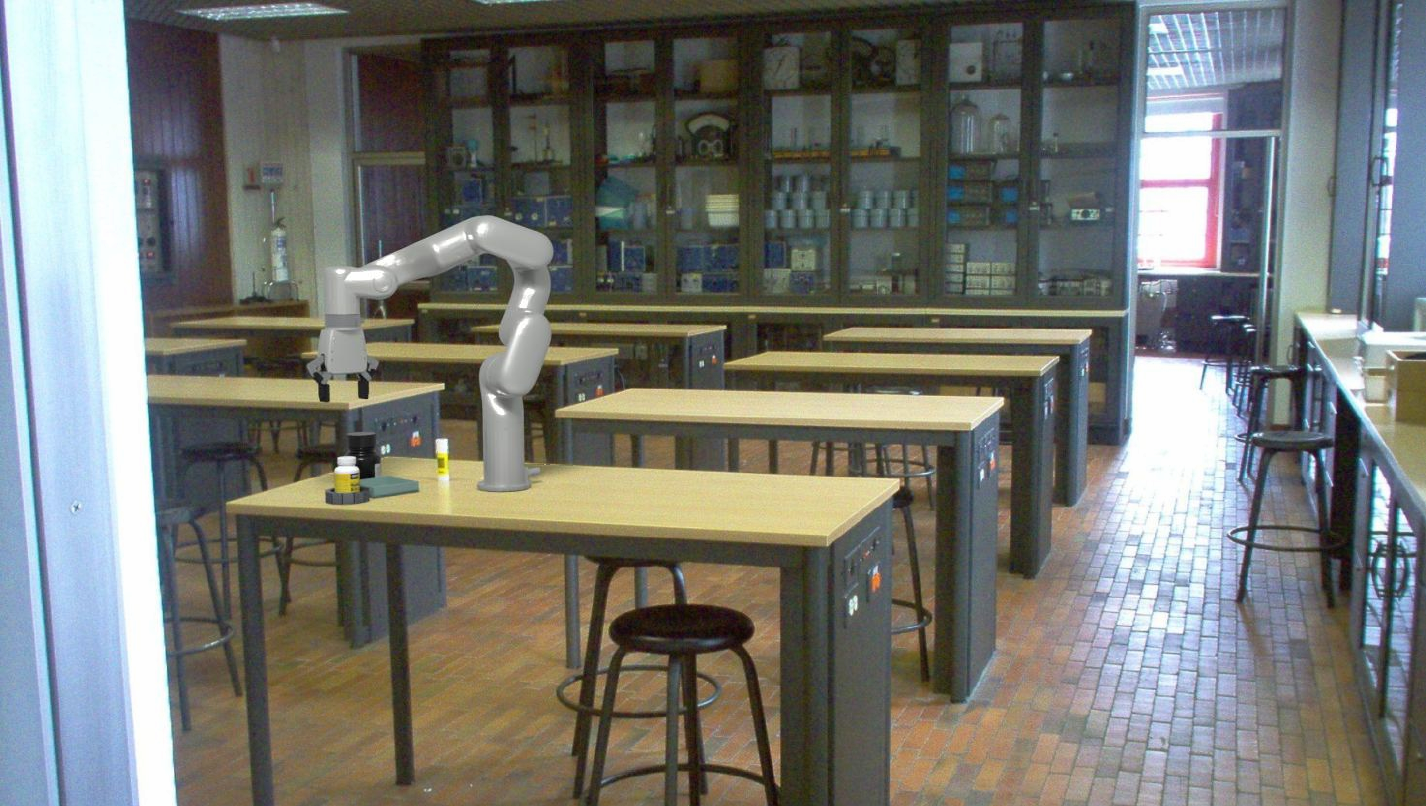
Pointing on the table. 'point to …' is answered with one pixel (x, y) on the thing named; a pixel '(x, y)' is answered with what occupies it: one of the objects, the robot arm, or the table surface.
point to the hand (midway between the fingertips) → (344, 400)
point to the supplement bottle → (346, 475)
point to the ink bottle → (364, 453)
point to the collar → (347, 497)
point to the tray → (389, 486)
